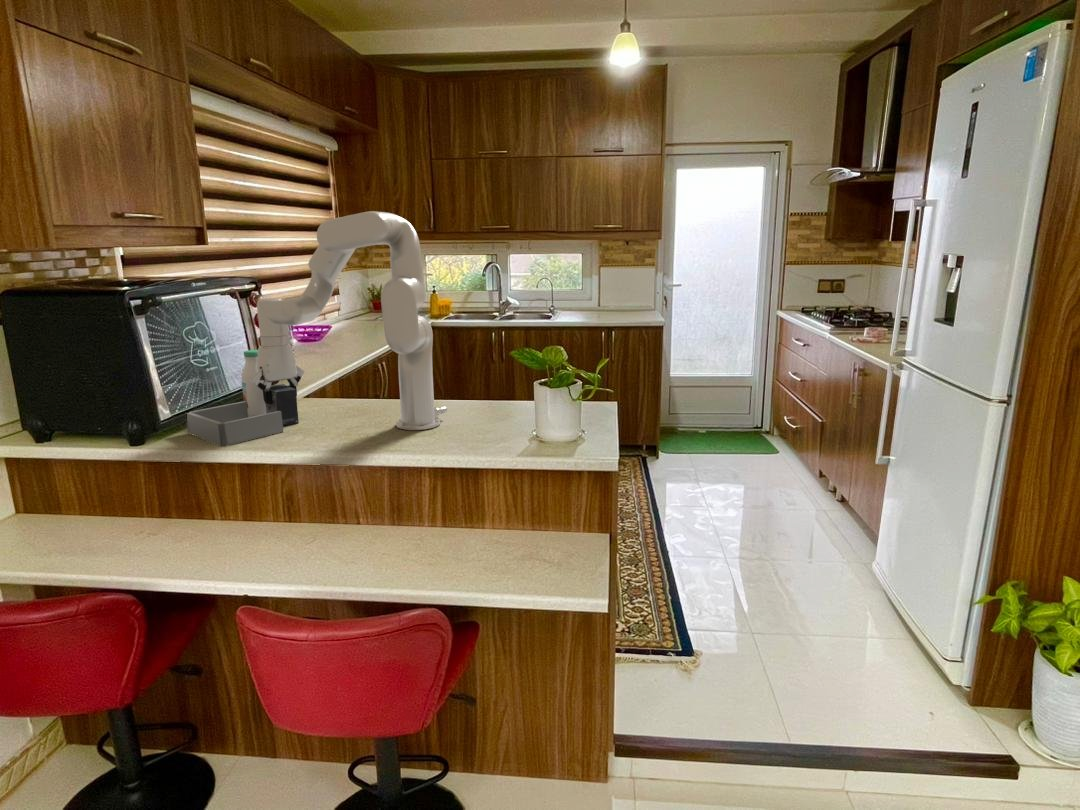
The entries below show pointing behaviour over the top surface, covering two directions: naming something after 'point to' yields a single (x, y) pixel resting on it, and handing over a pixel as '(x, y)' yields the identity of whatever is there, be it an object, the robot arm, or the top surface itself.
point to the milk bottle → (252, 385)
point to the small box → (284, 403)
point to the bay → (232, 424)
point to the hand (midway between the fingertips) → (281, 401)
